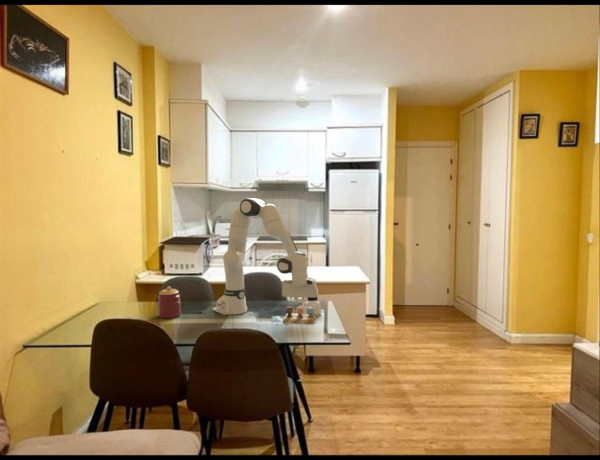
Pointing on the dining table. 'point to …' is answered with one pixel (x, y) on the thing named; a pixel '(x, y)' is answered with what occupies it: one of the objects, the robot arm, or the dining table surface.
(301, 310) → the peach rounded knob
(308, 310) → the slate-blue button
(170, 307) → the canister
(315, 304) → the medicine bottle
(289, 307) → the brown rounded piece
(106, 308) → the dining table surface
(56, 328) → the dining table surface
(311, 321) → the button board
